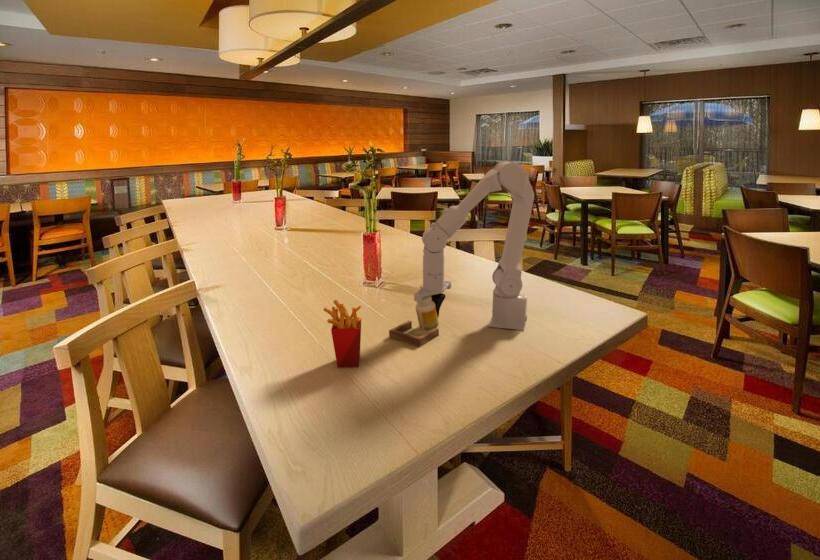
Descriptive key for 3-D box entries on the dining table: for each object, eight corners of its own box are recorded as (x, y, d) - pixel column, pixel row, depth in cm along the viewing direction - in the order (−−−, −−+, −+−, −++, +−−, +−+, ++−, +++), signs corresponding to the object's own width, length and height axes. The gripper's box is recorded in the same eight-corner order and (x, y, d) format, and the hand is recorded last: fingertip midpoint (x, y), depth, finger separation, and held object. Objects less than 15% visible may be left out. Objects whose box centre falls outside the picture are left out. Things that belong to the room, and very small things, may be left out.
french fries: (364, 355, 116) (361, 297, 112) (362, 372, 108) (358, 309, 104) (327, 357, 116) (323, 298, 112) (322, 373, 108) (318, 310, 104)
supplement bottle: (416, 329, 133) (409, 300, 128) (427, 318, 136) (421, 290, 131) (431, 334, 129) (425, 304, 125) (442, 323, 132) (437, 294, 128)
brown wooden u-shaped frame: (408, 327, 133) (408, 320, 132) (438, 335, 127) (438, 328, 126) (389, 337, 126) (389, 330, 126) (419, 346, 121) (419, 339, 120)
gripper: (437, 263, 137) (436, 308, 141) (405, 275, 127) (405, 323, 131) (457, 268, 133) (456, 313, 137) (426, 281, 122) (426, 330, 127)
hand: (433, 319), depth 134 cm, fingers closed, pressing on supplement bottle
